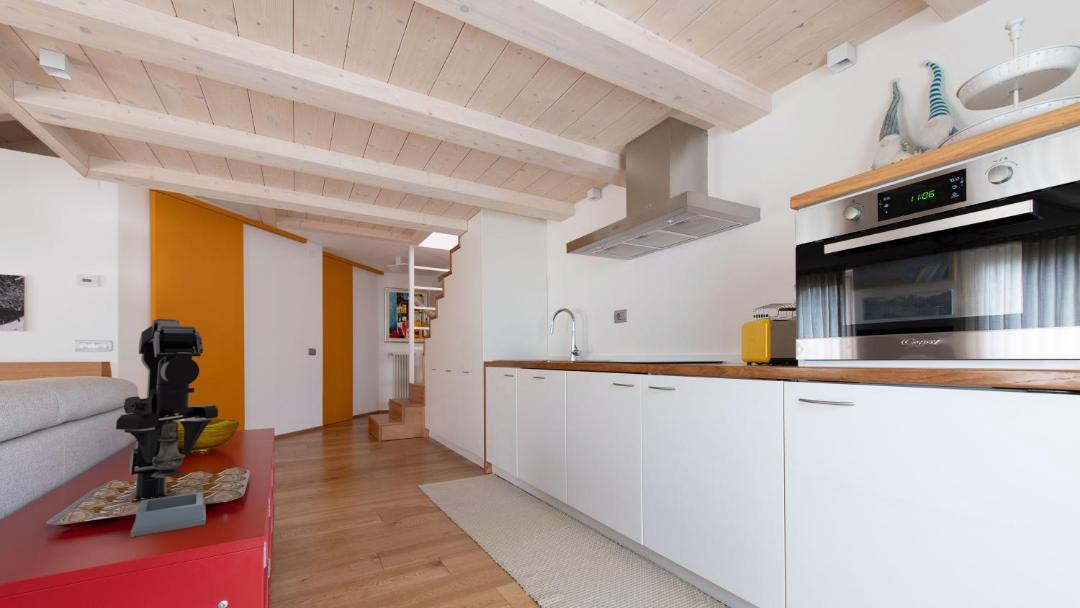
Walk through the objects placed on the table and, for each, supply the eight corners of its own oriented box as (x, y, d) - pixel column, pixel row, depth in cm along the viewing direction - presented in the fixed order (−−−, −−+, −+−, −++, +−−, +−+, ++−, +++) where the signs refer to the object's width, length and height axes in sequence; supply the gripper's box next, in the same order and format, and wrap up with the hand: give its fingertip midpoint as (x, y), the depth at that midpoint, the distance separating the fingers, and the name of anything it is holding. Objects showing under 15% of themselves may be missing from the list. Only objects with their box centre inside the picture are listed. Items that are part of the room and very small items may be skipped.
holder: (136, 519, 103) (138, 500, 103) (204, 508, 110) (206, 490, 110) (130, 537, 93) (132, 516, 94) (205, 524, 100) (206, 504, 100)
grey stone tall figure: (167, 478, 99) (170, 419, 100) (141, 477, 100) (145, 418, 101) (191, 471, 105) (194, 415, 106) (167, 470, 105) (170, 415, 107)
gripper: (181, 381, 115) (177, 447, 113) (96, 386, 96) (89, 466, 95) (221, 381, 113) (217, 449, 111) (142, 387, 94) (136, 468, 93)
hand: (168, 457), depth 103 cm, fingers closed on grey stone tall figure, 8 cm apart
